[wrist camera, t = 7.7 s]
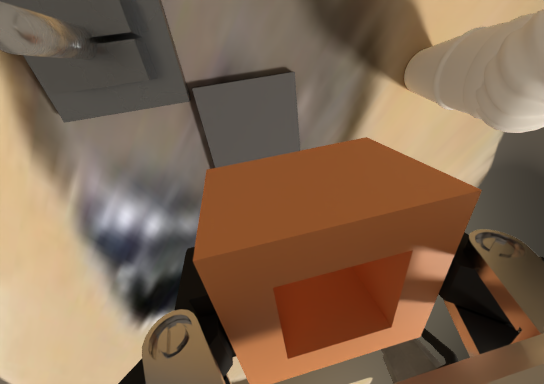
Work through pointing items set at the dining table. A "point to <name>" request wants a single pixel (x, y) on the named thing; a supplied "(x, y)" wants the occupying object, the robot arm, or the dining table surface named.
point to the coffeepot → (415, 357)
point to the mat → (249, 118)
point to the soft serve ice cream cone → (487, 74)
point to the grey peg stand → (96, 53)
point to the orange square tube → (326, 253)
